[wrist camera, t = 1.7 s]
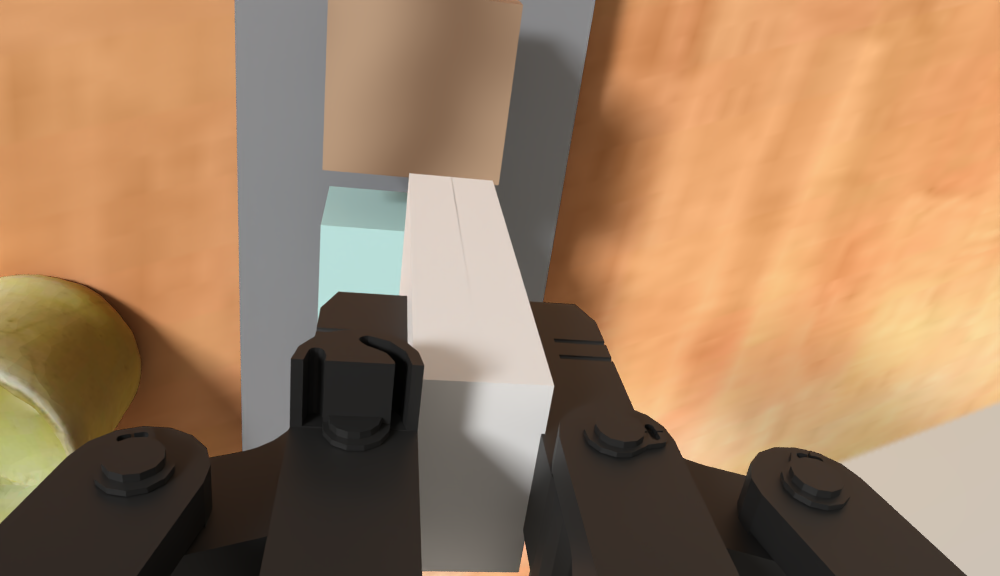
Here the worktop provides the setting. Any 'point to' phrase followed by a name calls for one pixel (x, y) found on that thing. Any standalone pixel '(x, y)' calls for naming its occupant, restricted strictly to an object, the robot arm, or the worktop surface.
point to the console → (367, 175)
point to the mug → (57, 377)
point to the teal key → (361, 242)
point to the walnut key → (419, 86)
